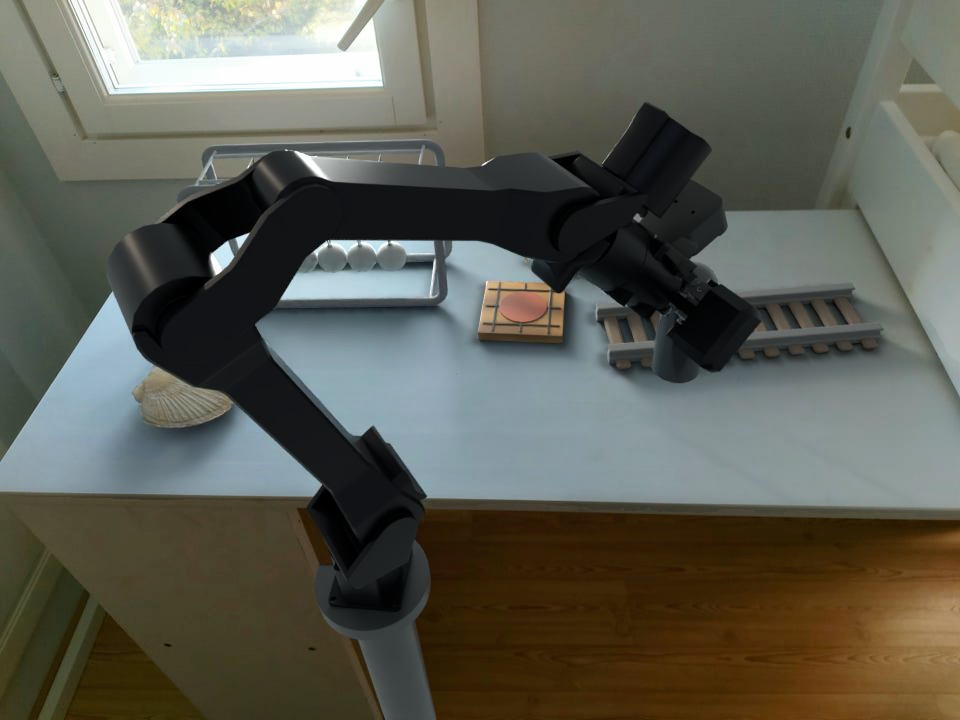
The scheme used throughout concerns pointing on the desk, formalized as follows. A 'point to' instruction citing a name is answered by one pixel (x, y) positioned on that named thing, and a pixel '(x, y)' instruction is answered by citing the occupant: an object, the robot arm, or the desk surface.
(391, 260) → the newton's cradle
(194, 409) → the seashell
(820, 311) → the model train track
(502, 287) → the board
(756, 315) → the robot arm
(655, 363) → the dark grey cylinder
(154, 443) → the desk surface
